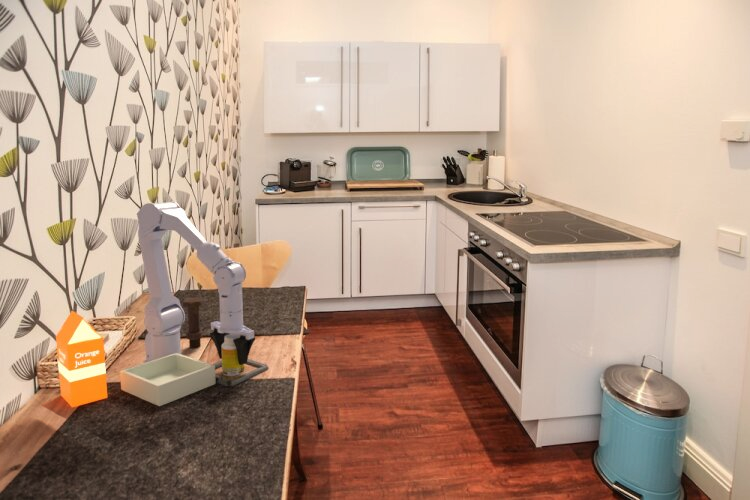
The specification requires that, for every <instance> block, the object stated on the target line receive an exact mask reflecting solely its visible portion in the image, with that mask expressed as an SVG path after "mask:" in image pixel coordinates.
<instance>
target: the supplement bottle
mask: <svg viewBox="0 0 750 500" xmlns="http://www.w3.org/2000/svg"><path fill="white" fill-rule="evenodd" d="M237 338H240V336H237V335H233V334H228V335H226V336H225V337H224V343H223V344H222V346H221V347H222V359H221V361H222V366H221V369H222V375H223V376H227V377H234V376H235V377H237V376H240V375H242V374H244V372H245V364H243V365H239V362H238V354H237V349H236V346H235V344H234V342H233V340H234V339H237Z"/></svg>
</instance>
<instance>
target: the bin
mask: <svg viewBox="0 0 750 500" xmlns="http://www.w3.org/2000/svg"><path fill="white" fill-rule="evenodd" d="M212 364H213V363H208V362H205V361H204V360H203V361H202V360H199V359H196V358H193V357H190V356H188V355H184V354H182V353H181V354H179V353H174V354H171V355H168V356H165V357H162V358H159V359H156V360H152V361H149V362H146V363H143V362H142V363H140V364H137V365H134V366H131V367H128V368H124V369H121V370H120V371H119V377H120V378H119V379H120V389H121V391H123V392H126V393H128V394H130V395H132V396H135V397H137V398H139V399H141V400H144V401H146V402H148V403H151V404H153V405H156V406H158V407H161V406H163V405H166V404H168V403H171V402H175V401H176V400H179V399H181V398H184V397H186V396H188V395H191V394H194V393H196V392H198V391H201V390H204V389H207V388H209V387H211V386H214V385H216V384H217V383H216V381H215V374H216V369H215V365H212Z"/></svg>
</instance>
